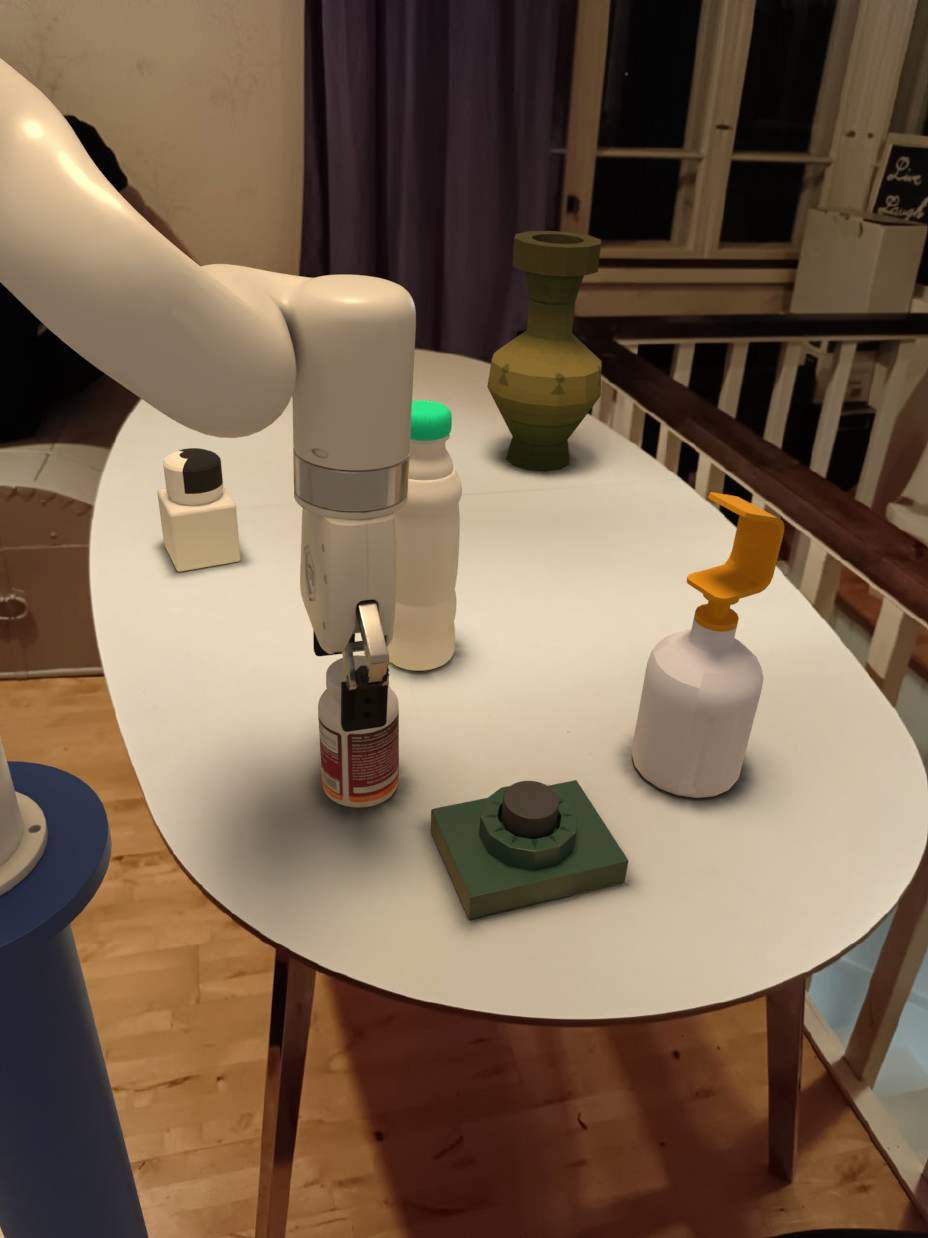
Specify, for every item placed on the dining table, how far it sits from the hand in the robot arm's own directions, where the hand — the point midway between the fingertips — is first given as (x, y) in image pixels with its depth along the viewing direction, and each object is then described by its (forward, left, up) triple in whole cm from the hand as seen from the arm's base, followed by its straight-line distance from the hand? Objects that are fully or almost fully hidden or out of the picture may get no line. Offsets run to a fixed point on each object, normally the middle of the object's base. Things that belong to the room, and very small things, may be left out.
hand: (348, 687), depth 72 cm
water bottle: (+11, +17, -10) cm, 22 cm away
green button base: (+11, -11, -10) cm, 18 cm away
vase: (+42, +61, -10) cm, 74 cm away
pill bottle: (+1, 0, -10) cm, 10 cm away
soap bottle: (+28, -5, -10) cm, 30 cm away
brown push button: (+11, -11, -6) cm, 17 cm away
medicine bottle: (-7, +43, -10) cm, 45 cm away
